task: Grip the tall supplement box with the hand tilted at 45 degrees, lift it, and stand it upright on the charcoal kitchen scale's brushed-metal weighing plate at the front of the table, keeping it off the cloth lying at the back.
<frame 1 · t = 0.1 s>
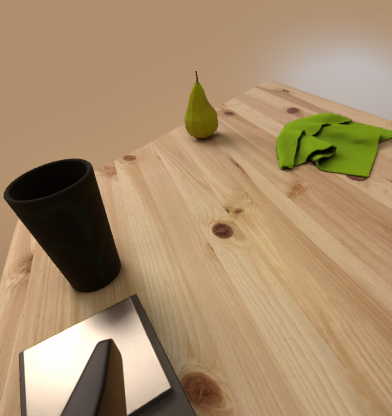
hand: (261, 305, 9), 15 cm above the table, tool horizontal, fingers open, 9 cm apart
fruit: (204, 137, 61), on the table
cup: (96, 273, 34), on the table
cloth: (325, 145, 50), on the table
scale: (107, 400, 23), on the table
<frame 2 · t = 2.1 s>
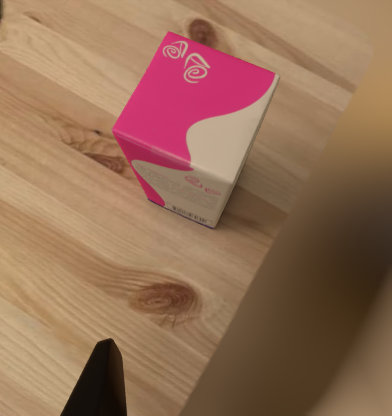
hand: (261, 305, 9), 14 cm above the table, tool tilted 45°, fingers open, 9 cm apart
supplement box: (195, 182, 24), on the table
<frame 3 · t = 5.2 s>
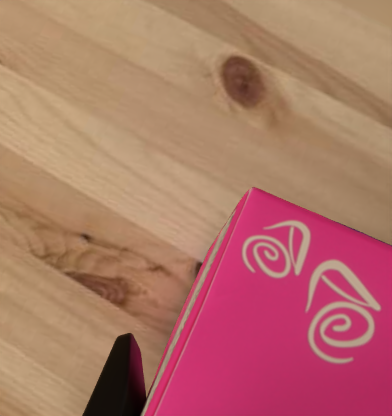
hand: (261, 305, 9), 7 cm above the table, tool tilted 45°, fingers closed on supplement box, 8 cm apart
supplement box: (238, 318, 16), on the table, touching gripper
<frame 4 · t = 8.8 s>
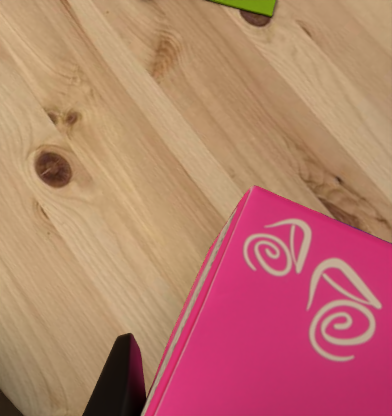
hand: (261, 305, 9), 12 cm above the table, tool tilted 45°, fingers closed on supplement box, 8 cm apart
supplement box: (239, 317, 16), point 5 cm above the table, touching gripper
when the fingers open (10 cm above the table, at t = 12.5 s): supplement box stays where it is, resting on scale.
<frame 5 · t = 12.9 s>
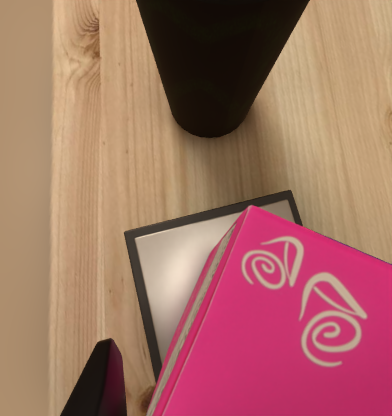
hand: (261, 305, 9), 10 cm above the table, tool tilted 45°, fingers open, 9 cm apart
cup: (208, 102, 22), on the table
supplement box: (238, 319, 16), point 3 cm above the table, touching scale
scale: (231, 310, 19), on the table
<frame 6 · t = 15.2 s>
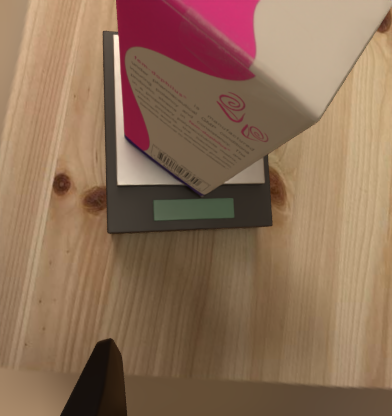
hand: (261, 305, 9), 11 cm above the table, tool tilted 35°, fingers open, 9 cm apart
supplement box: (191, 130, 18), point 3 cm above the table, touching scale
scale: (183, 142, 21), on the table
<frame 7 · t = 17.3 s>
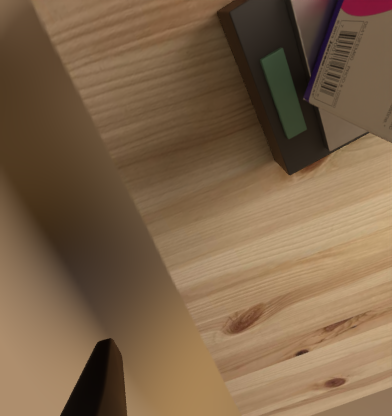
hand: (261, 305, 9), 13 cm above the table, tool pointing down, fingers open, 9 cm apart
supplement box: (368, 51, 16), point 3 cm above the table, touching scale
scale: (339, 45, 18), on the table
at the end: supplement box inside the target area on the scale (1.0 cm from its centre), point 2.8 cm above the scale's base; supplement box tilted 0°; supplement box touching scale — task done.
